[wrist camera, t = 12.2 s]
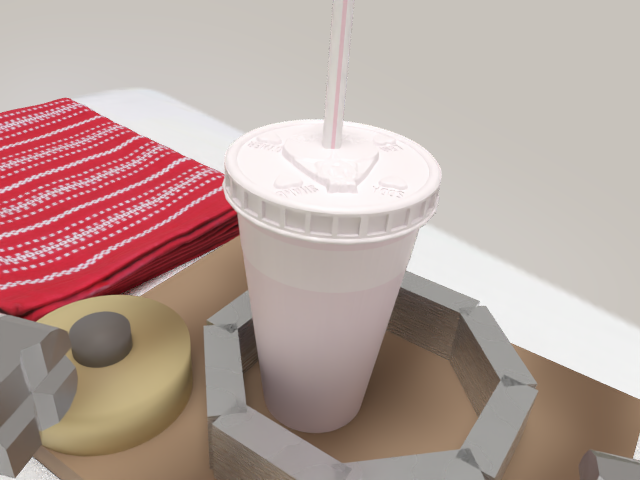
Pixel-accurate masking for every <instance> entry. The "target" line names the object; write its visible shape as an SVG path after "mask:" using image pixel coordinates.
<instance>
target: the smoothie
mask: <svg viewBox="0 0 640 480" xmlns="http://www.w3.org/2000/svg"><path fill="white" fill-rule="evenodd" d="M353 9H354V0H333V7H332V21H331V34H330V35H331V36H330V47H329V61H328V75H327V87H326V101H325V115H324V119H313V120H311V119H310V120H295V121H285V122H279V123H274V124H270V125H267V126H263V127H259V128H256V129H254V130H252V131H250V132H247V133H245V134H243V135H242V136H241V137H239V138H238V139H236V140H235V141H234V142H233V143H232V144H231V145H230V146H229V148H228V149H227V151H226V153H225V158H224V164H225V178H224V181H223V184H222V186H223V190H224V194H225V198H226V200H227V201H228V203H229V204H230V205H231V206H232V207H233V208H234V210H235V211H236V212H237V215H238V223H239V231H240V239H241V247H242V250H243V257H244V264H245V271H246V278H247V284H248V291H249V298H250V305H251V312H252V318H253V325H254V332H255V339H256V346H257V352H258V359H259V366H260V373H261V380H262V386H263V393H264V400H265V403H266V406H267V408H268V410H269V411H270V413H271V414H272V415H273V416H274V417H275V418H276V419H277V420H278V421H279V422H280V423H282V424H284V425H285V426H287V427H289V428H292V429H294V430H297V431H301V432H307V433H324V432H330V431H334V430H336V429H339V428H341V427H343V426H345V425H346V424H348V423H349V422H350V421H351V420H353V419H354V417H355V416H356V415H357V413H358V412H359V410H360V407H361V404H362V401H363V398H364V395H365V392H366V389H367V386H368V383H369V380H370V377H371V374H372V371H373V368H374V365H375V362H376V359H377V356H378V353H379V350H380V347H381V344H382V341H383V338H384V335H385V332H386V329H387V326H388V323H389V320H390V317H391V314H392V310H393V307H394V304H395V301H396V298H397V295H398V292H399V289H400V286H401V283H402V280H403V277H404V274H405V271H406V268H407V265H408V263H409V260H410V258H411V254H412V251H413V248H414V245H415V241H416V238H417V235H418V232H419V228H421V227H423V226H424V225H425V224H426V223H427V222H428V221H429V220H430V219H431V218H432V217H433V216H434V214H436V211H437V207H438V203H439V196H438V192H439V187H440V183H441V176H442V174H441V169H440V166H439V164H438V162H437V161H436V159H435V158H434V157H433V156H432V155H431V154H430V153H429V152H428V151H427V150H426V149H424V148H423V147H422V146H420V145H419V144H418V143H416V142H414V141H412V140H410V139H408V138H406V137H404V136H402V135H399V134H397V133H394V132H392V131H389V130H385V129H382V128H379V127H375V126H370V125H366V124H361V123H356V122H348V121H343V117H344V106H345V95H346V84H347V73H348V63H349V62H348V61H349V52H350V41H351V31H352V19H353Z"/></svg>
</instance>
